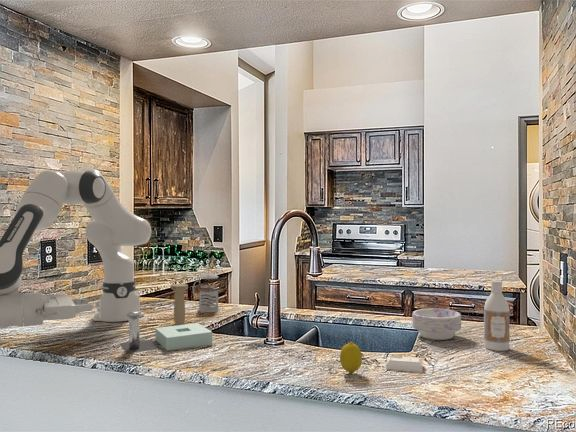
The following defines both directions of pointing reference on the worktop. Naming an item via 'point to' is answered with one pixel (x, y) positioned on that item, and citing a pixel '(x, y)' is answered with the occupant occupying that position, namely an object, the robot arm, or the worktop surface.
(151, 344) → the mat
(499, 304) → the bath foam
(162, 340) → the hole block
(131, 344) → the pin
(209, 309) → the french press
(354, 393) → the worktop surface
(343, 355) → the lemon
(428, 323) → the marbled white bowl
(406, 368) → the soap bar
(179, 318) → the handle
